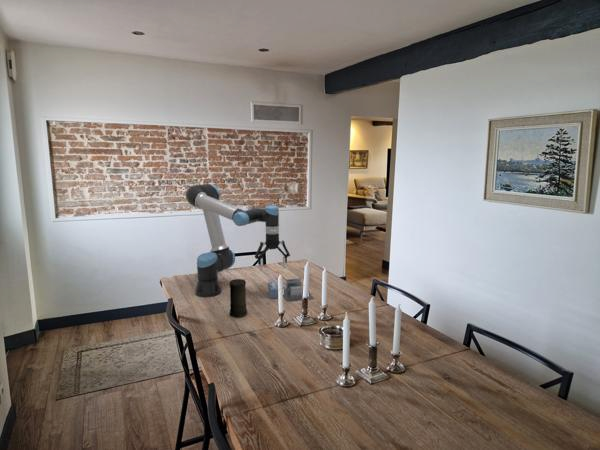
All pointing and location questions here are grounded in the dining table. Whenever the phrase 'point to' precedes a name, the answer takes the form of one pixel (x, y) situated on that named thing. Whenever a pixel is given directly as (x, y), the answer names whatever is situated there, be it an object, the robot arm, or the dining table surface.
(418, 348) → the dining table surface
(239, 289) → the container
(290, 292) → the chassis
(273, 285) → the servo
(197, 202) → the robot arm
